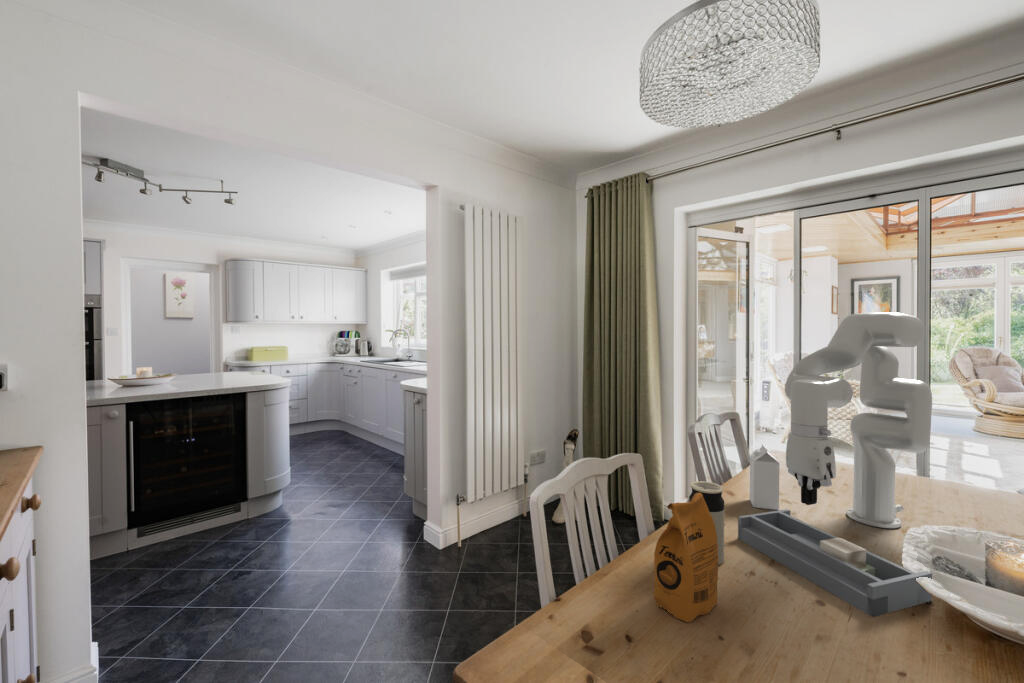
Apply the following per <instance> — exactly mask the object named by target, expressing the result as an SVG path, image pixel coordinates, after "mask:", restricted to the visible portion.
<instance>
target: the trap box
mask: <svg viewBox="0 0 1024 683" xmlns="http://www.w3.org/2000/svg"><path fill="white" fill-rule="evenodd" d="M737 517H738V518H737V519H738V520H737V539H738V540H740V541H742V543H745V544H747V545H748V546H750V547H752V548H753V549H754V550H755V549H756V550H757V551H758V552H760V553H762V554H763V555H765V556H767V557H769V558H771V560H772V559H773V560H774V561H776V562H777V563H779V564H781V565H783V566H784V567H786V568H788V569H789V570H791V571H793V572H794V573H796V574H798V575H799V576H801V577H803V578H805V579H807V580H808V581H810V582H811V583H813V584H815V585H817V586H819V587H820V588H822V589H824V590H825V591H827V592H828V593H830V594H832V595H834V596H835V597H838V598H839V599H840V600H842V601H844V602H846V603H848V604H849V605H851V606H853V607H854V608H856V609H857V610H860V611H861V612H863V613H864V614H866V615H868V616H870V617H871V618H874V617H877V616H880V615H882V616H883V615H886V614H890V613H892V612H893V613H894V612H897V611H900V609H901V610H904V608H905V609H909V608H912V606H913V607H916V606H915V605H917V606H919V604H921V603H924V604H926V603H925V602H928V603H930V602H929V601H932V600H933V599H932V596H933V594H932V595H931V594H930V593H928V592H927V591H926V590H925V589H924V588H923V587H922V586H921V585H920V584H919V583H918V582H917V581H916V578H919V577H928V578H931V579H932V580H933V573H932V572H930V571H928V570H923V571H919V572H916V571H913V570H910V569H909V568H907V567H904V566H901V565H899V564H897V563H895V562H892V561H891V560H889V559H886V558H884V557H882V556H879V555H877V554H875V553H873V552H870V551H869V550H867V549H866V567H865V568H860V569H859V568H857V567H855V566H853V565H851V564H849V563H847V562H845V561H843V560H841V559H839V558H837V557H835V556H833V555H831V554H829V553H827V552H825V551H823V550H821V549H820V541H822V540H827V539H833V538H839V537H838V536H836V535H834V534H831V533H829V532H827V531H825V530H823V529H820V528H818V527H816V526H813V525H812V524H809V523H807V522H805V521H803V520H800V519H798V518H796V517H794V516H792V515H791V510H790V509H788V508H785V509H779V510H773V511H766V512H759V513H753V514H745V515H740V516H737ZM921 605H922V604H921ZM908 607H909V608H908ZM896 610H897V611H896Z"/></svg>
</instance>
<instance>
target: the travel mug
mask: <svg viewBox="0 0 1024 683" xmlns="http://www.w3.org/2000/svg"><path fill="white" fill-rule="evenodd" d="M689 486H690V488H691V493H690V495H689V497H688V502H690V501H691V499H692V497H693V496H694V494H696V493H701V494H702V495H703V498H704V500H705V502H706V505H707V507H708V510H709V512H710V514H711V516H712V519H713V522H714V524H715V527H716V534H717V543H718V566H719V565H722V564H723V563H724V562H725V500H724V498H723V496H722V494H723V491H724V487H723V486H721V485H720V484H718V483H714V482H710V481H705V480H703V481H701V480H700V481H692V482H691V483H690V485H689Z"/></svg>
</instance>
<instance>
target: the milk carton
mask: <svg viewBox="0 0 1024 683" xmlns="http://www.w3.org/2000/svg"><path fill="white" fill-rule="evenodd" d="M749 455H750V456H749V502H750V503H751V505H752V508H757V509H763V510H773V511H779V510H780V465H781V464H780V462H779V460H777V459H776V457H775V456H774V455H772V454H771V452H769V451H768V448H767V447H766V446H765V445H764V444H763V443H761V447H760V448H757V449H754V450H753V452H752V453H751V454H749Z"/></svg>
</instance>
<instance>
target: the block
mask: <svg viewBox="0 0 1024 683" xmlns="http://www.w3.org/2000/svg"><path fill="white" fill-rule="evenodd" d="M820 549H821V550H823V551H825V552H827V553H829V554H831V555H833V556H835V557H837V558H839V559H841V560H843V561H845V562H847V563H849V564H851V565H853V566H855V567H857V568H859V569H860V568H865V567H866V550H867V549H866V548H864V547H861V546H859V545H858V544H855V543H853V542H851V541H849V540H846V539H844V538H841V536H840V537H838V538H833V539H827V540H822V541H820Z"/></svg>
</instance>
